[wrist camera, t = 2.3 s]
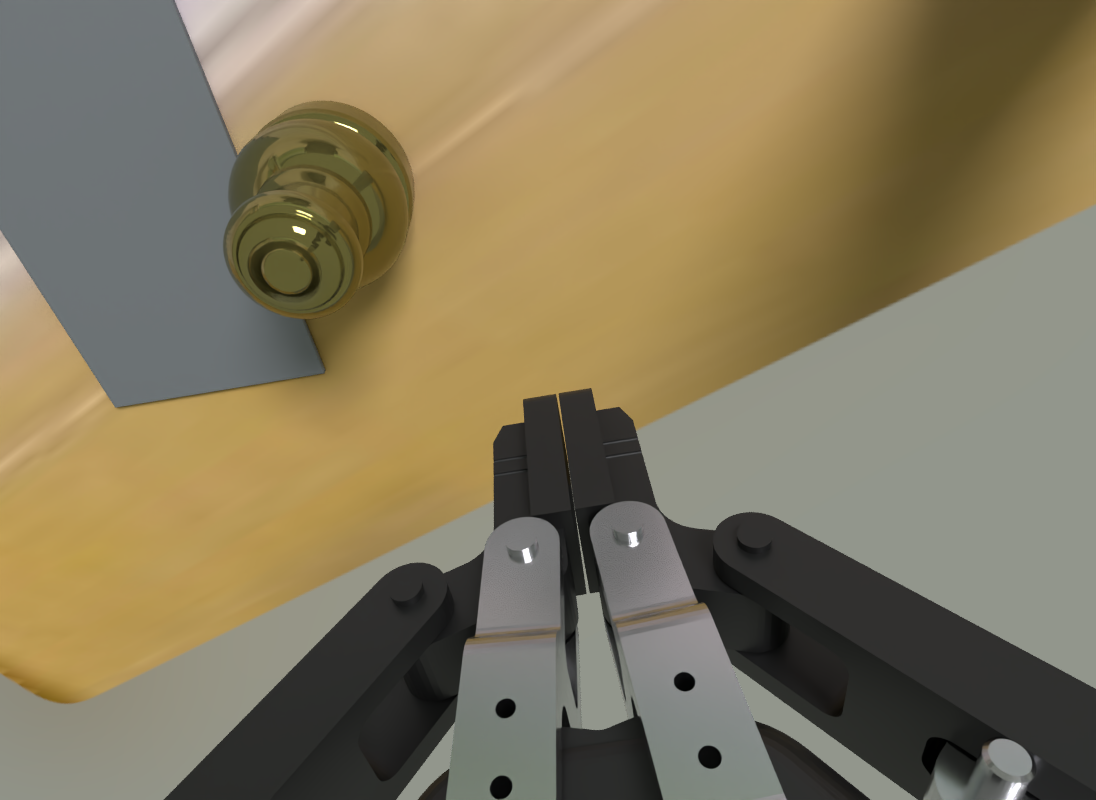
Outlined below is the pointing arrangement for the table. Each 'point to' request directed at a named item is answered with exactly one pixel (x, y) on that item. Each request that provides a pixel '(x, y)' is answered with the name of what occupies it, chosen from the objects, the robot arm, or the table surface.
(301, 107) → the brass door knob
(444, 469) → the table surface
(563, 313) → the table surface
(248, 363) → the mat
